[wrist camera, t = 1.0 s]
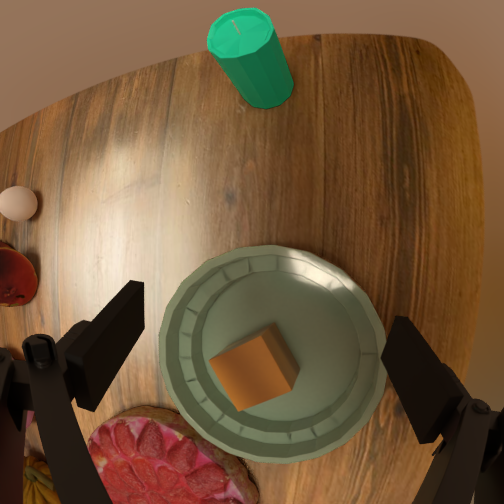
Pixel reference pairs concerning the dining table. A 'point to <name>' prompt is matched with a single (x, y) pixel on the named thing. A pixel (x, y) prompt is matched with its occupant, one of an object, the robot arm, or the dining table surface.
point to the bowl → (297, 339)
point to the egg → (18, 203)
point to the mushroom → (15, 277)
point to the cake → (165, 462)
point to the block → (256, 368)
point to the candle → (251, 56)
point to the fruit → (38, 483)
